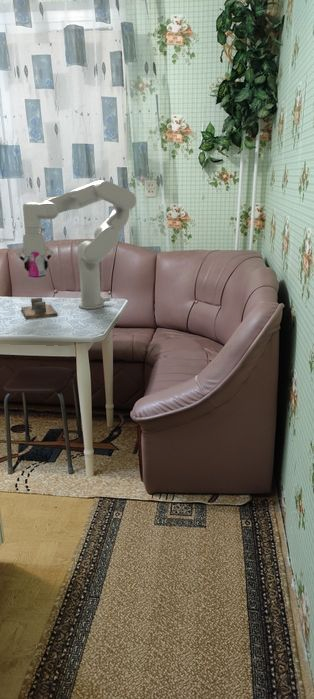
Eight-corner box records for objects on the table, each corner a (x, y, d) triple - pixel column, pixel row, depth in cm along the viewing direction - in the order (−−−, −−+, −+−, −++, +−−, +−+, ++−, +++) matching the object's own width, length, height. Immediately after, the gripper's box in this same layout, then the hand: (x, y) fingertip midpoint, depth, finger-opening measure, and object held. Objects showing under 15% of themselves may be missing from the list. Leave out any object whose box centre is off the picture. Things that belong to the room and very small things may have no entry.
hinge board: (50, 307, 251) (49, 294, 249) (57, 316, 235) (56, 302, 233) (21, 310, 246) (20, 297, 244) (26, 319, 230) (25, 305, 228)
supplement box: (37, 274, 241) (35, 250, 237) (46, 276, 238) (44, 251, 234) (27, 276, 237) (25, 251, 233) (36, 277, 233) (34, 252, 230)
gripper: (51, 229, 237) (54, 267, 242) (12, 231, 231) (16, 269, 237) (54, 231, 230) (56, 270, 236) (14, 232, 225) (17, 272, 230)
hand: (36, 269), depth 236 cm, fingers closed on supplement box, 7 cm apart
